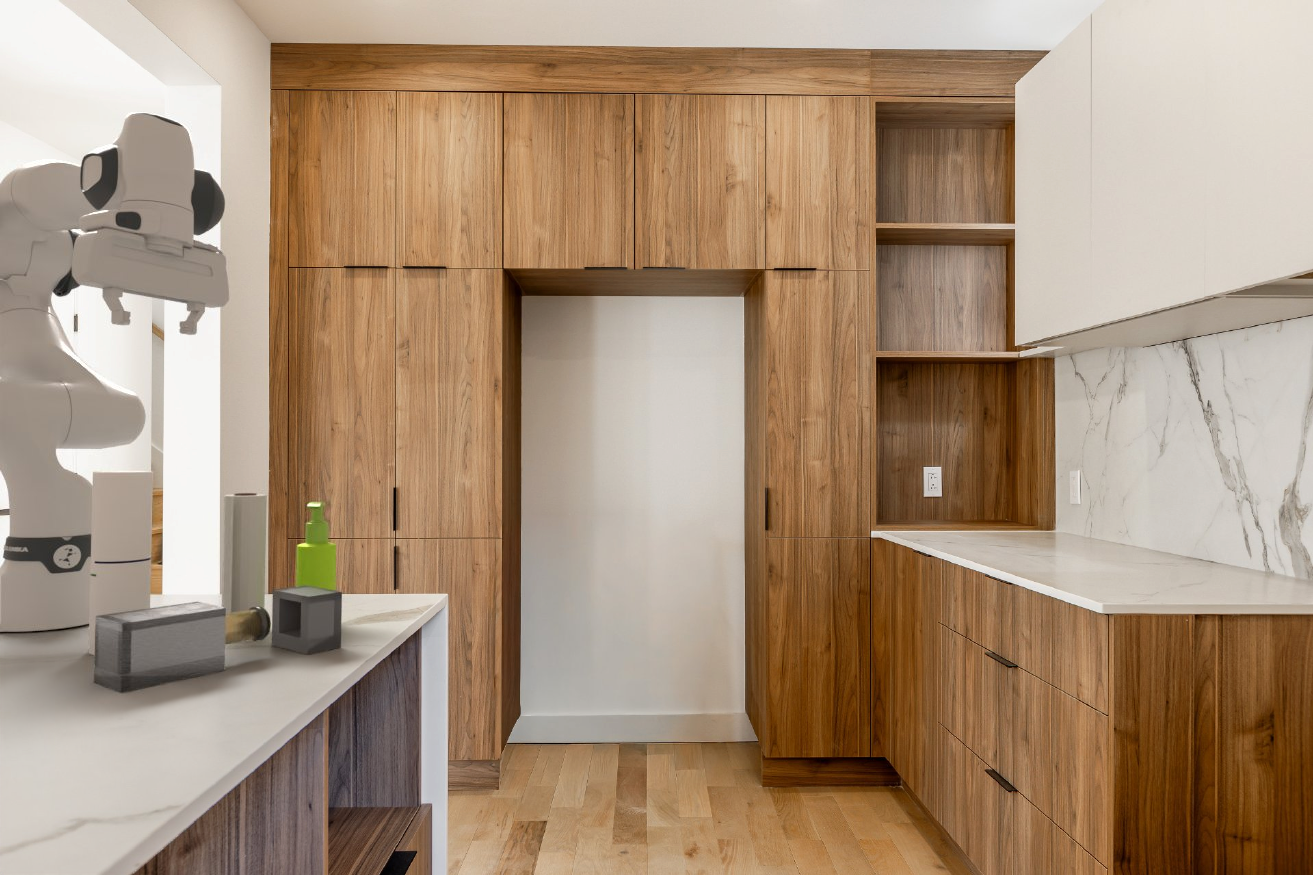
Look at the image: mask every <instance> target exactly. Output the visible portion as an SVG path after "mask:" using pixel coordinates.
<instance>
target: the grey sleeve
mask: <svg viewBox="0 0 1313 875" xmlns="http://www.w3.org/2000/svg"><path fill="white" fill-rule="evenodd" d="M225 629H226V608H224V607H222V606H219V605H216V604H215V605H214V604H209V603H206V602H205V603H204V602H201V601H191V602H184V603H179V604H172V605H163V606H157V607H150V608H148V609H141V610H134V611H127V612H120V613H113V614H106V615H98V616H96V618H95V655H94V661H93V662H94V665H93V666H94V668H93V669H94V671H93V683H94V684H97V685H100V686H102V687H105V686H106V687H105V688H107V689H110V688H111V690H113V691H116V692H117V693H120V694H122V693H127V692H131V691H135V690H141V689H145V688H149V687H154V686H159V685H164V684H167V683H172V682H178V681H183V680H188V679H190V678H191V679H192V678H196V677H201V676H205V675H210V674H215V673H219V672H223V671H225V670H226V666H225V665H226V645H225Z"/></svg>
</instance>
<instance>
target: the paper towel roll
mask: <svg viewBox="0 0 1313 875" xmlns="http://www.w3.org/2000/svg"><path fill="white" fill-rule="evenodd" d="M267 496H268V495H267V494H262V493H261V494H259V493H257V492H256V493H255V492H242V493H241V492H240V493H237V492H236V493H234V494H225V495H224V496H223V527H222V528H223V531H222V533H223V534H222V535H223V536H222V576H221V577H222V578H221V580H222V582H221V607H224V608H226V614H227V613H233V612H240V611H246V610H249V609H250V608H252V607H257V606H261V607H263V608H264V609H265V605H266V604H265V600H266V599H265V596H266V595H265V594H266V592H265V591H266V557H267V556H266V555H267V554H266V552H267V550H266V549H267V547H266V546H267V542H266V541H267V507H268V506H267V501H268V500H267Z"/></svg>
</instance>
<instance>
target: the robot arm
mask: <svg viewBox="0 0 1313 875" xmlns="http://www.w3.org/2000/svg"><path fill="white" fill-rule="evenodd" d="M225 207H226V200H225V195H224V192H223V190H222V189H221V187H220V184H219V183H218V182H217V180H216V179H215V178H214V176H213V175H212V174H211V173H210V172H209V171H208V170H205V169H201V168H195V159H194V146H193V142H192V137H191V133H190V130H189V128H188V127H186V125H184V124H182V123H181V122H179V121H177V120H174V119H172V118H168V117H166V116H163V115H159V114H154V113H150V112H145V111H143V112H142V111H135V112H130V113H128V114H127V115H126V116H125V119H124V122H123V126H122V130H121V132H120V134H119V136H118V137H117V138H116V139H114V141H112V143H111V144H108V145H104V146H100V147H98V148H95V149H93V150H91V151H90V152H89V153H86V154H85V155H84V156H83V157H82V160H81V164H80V165H79V164H76V163H73V162H72V163H71V162H69V161H68V162H67V161H62V160H57V159H42V160H41V159H40V160H36V161H31V162H28V163H25V164H23V165H20V166H17V167H16V168H15V169H13V170H11V171H10V172H9V173H7V175H5V176H4V177H3V179H2V180H1V182H0V473H1V475H2V476H3V478H4V481H5V484H6V487H7V494H8V495H7V496H8V508H9V510H8V511H9V536H7V537H6V539H5V544H4V545H3V555H2V558H3V559H4V561H3V563H2V565H1V566H0V633H2V632H4V633H5V632H9V633H10V632H17V633H18V632H33V631H34V632H35V631H37V632H38V631H39V632H40V631H49V630H50V631H51V630H58V629H66V628H73V627H79V626H85V625H89V614H90V575H91V531H92V487H93V483H91V482H90V481H89V480H88V479H87V478H86V477H84V476H82V475H80V474H78V473H77V472H73V471H71V470H69V469H67V468H64V466H62V464H61V463H60V462H59V459H58V456H57V449H58V450H59V449H62V450H63V449H64V450H69V449H71V450H72V449H74V450H75V449H76V450H78V449H79V450H102V449H108V448H115V447H121V446H125V445H130V444H132V443H133V442H135V441H136V440H137V438H139V436H140V435H141V433H142V431H143V430H144V428H145V423H146V410H145V406H144V404H143V402H142V400H141V399H140V397H139V395H137V394H136V393H135V392H134V391H132V390H130V389H127V388H125V387H123V386H121V385H118V384H116V383H115V382H113V381H111V380H109V379H107V378H106V377H105V376H102V374H100V373H98V372H97V371H96V370H94V369H93V368H92V367H91V366H89V365H88V363H86V362H85V361H84V360H83V359H81V357H79V355H78V354H77V353H76V352H75V351H74V348H73V346H72V345H71V343H70V341H69V338H68V337H67V334H66V333H65V330H64V328H63V326H62V323H61V321H60V319H59V317H58V315H57V313H56V311H55V310H54V306H53V303H52V296H53V294H54V295H55V296H56V297H59V298H63V297H66V296H68V295H69V294H70V293H71V292H72V290H74V289H78V288H79V287H81V286H85V287H91V288H96V289H102V299H103V301H104V302H105V304H106V306H107V307H108V309H109V310H110V312H111V319H110V321H111V324H112V325H117V326H129V325H131V324H130V323H131V311H127V310H125V309H124V307H123V305H122V303H121V300H120V298H123V296H124V295H123V294H124V293H126V294H130V295H135V296H142V297H148V298H152V299H158V300H164V301H171V302H176V303H181V304H186V312H189V314H188V316H187V318H186V319H185V320H184V321H183V320H182V321H179V333H180V334H182V335H188V336H192V335H193V336H194V335H196V334H197V333H198V331H197V330H198V323H199V321H200V319H201V318H203V315H205V313H206V308H209V309H211V308H212V309H214V308H223V307H225V306H226V305H227V303H228V302H229V301H230V290H229V289H230V286H229V279H228V273H227V257H226V255H225V254H224V253H223V252H222V251H221V250H220V249H218V248H219V247H218V246H217V245H214V244H211V243H205V242H202V241H200V240H196V239H194V236H201V235H203V234H205V233H207V232H209V231H210V230H212V229H214V227H216V226H217V225H218V224H219V223H220V222H221V219H222V218H223V215H224V212H225ZM79 230H80V231H79Z"/></svg>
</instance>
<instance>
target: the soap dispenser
mask: <svg viewBox="0 0 1313 875" xmlns="http://www.w3.org/2000/svg"><path fill="white" fill-rule="evenodd" d="M325 506H326V502H325V501H310V502H308V504H307V506H306V508H307V510H308V509H311V520H309V521H307V522H306V523H305V542H303V543H300V544H297V545H296V568H295V569H296V572H295V573H296V574H295V575H296V578H295V580H296V581H295V584H296V585H295V587H297V586H304V585H307V586H313V587H318V588H324V589H330V590H335V591H337V590H336V584H337V582H336V581H337V580H336V579H337V576H336V575H337V543H334V542H331V541H329V522H327V521H326V520H324V507H325Z"/></svg>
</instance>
